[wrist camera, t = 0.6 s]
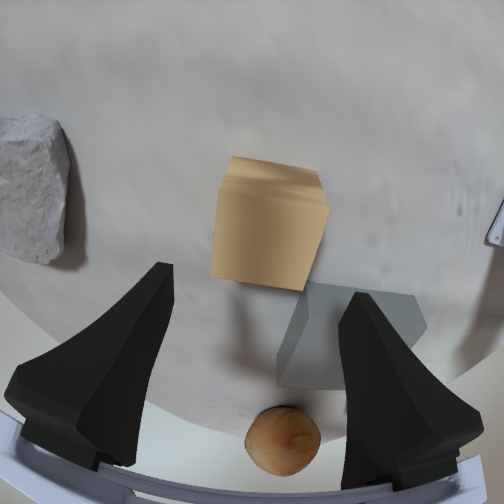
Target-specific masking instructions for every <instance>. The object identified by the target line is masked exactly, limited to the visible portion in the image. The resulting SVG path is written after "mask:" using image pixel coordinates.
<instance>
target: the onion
mask: <svg viewBox="0 0 504 504" xmlns="http://www.w3.org/2000/svg"><path fill="white" fill-rule="evenodd" d="M320 442H321V435H320V432H319V429H318V427H317V425H316V424H315V423H314V421H313V420H312V419H311V418H310V417H309V416H308V415H307V414H306V413H304V412H303V411H300V410H298V409H294V408H283V407H280V408H272V409H270V410H268V411H266V412H264V413H263V414H261V415H260V416H259V417H258V418H257V419H256V420H255V421H254V422H253V423H252V425H251V427H250V428H249V430H248V432H247V435H246V438H245V448H246V451H247V452H248V454H249V456H250V457H251V459H252V460H253V461H254V462H255V464H256V465H257V466H258V467H260V468H261V469H262V470H264V471H266V472H268V473H270V474H273V475H276V476H282V477H285V476H286V477H287V476H291V475H294V474H296V473H298V472H299V471H301V470H302V469H304V468H305V467H306V466H307V465H308V464H309V463H310V462H311V461H312V460H313V458H314V457H315V456H316V454H317V452H318V449H319V447H320Z"/></svg>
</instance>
